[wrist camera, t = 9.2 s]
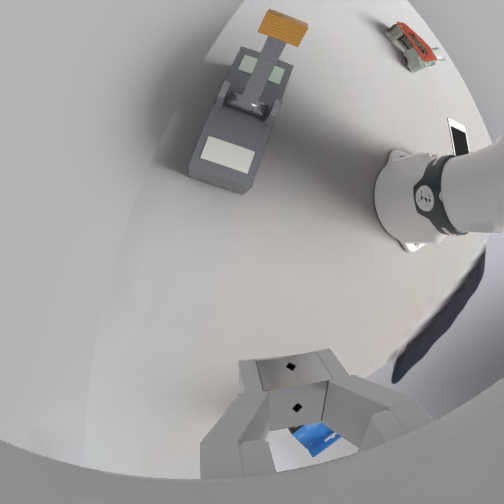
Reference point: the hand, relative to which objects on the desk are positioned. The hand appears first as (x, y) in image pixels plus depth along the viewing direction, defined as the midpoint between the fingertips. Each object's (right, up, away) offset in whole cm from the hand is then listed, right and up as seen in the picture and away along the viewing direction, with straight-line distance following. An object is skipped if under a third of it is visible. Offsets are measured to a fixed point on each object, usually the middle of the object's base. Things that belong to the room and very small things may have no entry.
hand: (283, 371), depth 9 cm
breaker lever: (-2, +22, +23) cm, 32 cm away
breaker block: (-3, +23, +30) cm, 38 cm away
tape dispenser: (+39, +52, +37) cm, 74 cm away
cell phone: (+49, +28, +41) cm, 69 cm away
